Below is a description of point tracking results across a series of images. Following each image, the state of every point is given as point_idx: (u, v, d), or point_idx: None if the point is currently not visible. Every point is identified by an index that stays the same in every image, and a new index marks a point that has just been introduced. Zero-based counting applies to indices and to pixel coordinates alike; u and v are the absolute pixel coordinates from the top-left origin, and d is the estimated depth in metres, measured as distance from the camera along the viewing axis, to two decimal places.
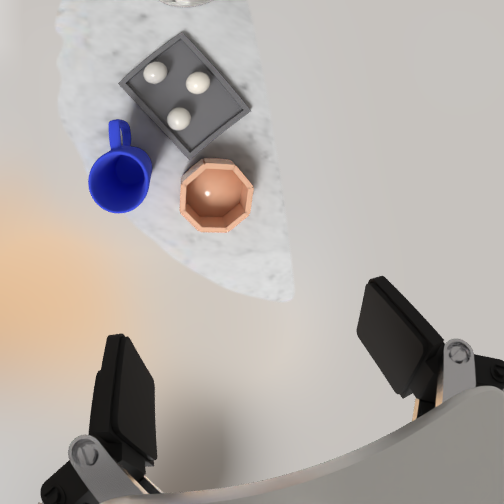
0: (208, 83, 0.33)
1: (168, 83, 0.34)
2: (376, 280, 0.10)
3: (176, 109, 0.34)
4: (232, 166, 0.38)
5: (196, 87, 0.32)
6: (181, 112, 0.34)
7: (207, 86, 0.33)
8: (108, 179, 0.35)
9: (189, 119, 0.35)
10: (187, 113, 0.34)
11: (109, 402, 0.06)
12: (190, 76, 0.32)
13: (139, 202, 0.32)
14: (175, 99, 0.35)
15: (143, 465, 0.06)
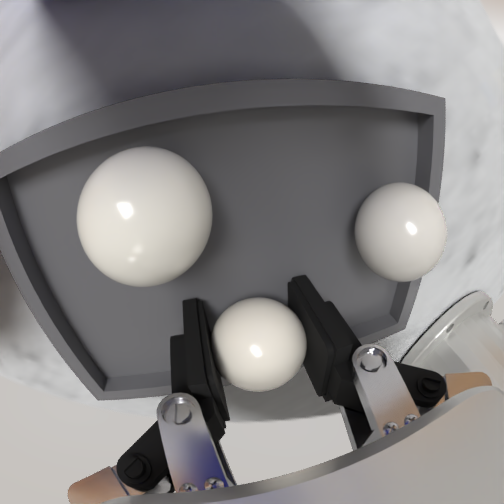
0: None
1: (319, 231, 0.10)
2: (296, 279, 0.10)
3: (201, 245, 0.06)
4: None
5: (250, 368, 0.08)
6: (166, 275, 0.06)
7: (227, 380, 0.09)
8: None
9: None
10: (147, 285, 0.06)
11: (200, 356, 0.07)
12: (304, 349, 0.09)
13: None
14: (243, 221, 0.09)
15: (222, 424, 0.08)
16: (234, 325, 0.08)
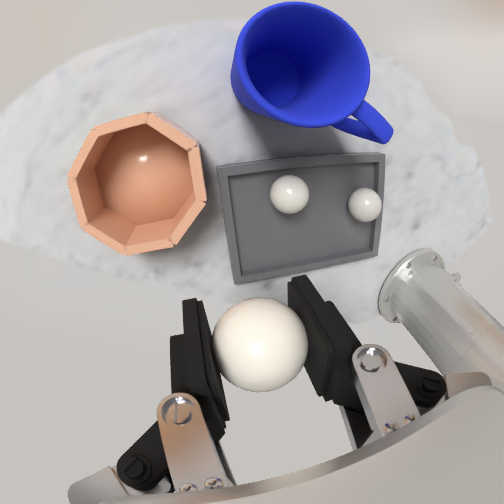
0: None
1: (336, 205, 0.27)
2: (296, 279, 0.10)
3: (307, 202, 0.24)
4: (175, 241, 0.21)
5: (252, 369, 0.08)
6: (299, 208, 0.23)
7: (229, 380, 0.09)
8: (295, 43, 0.16)
9: (280, 210, 0.24)
10: (291, 213, 0.24)
11: (200, 357, 0.07)
12: (306, 349, 0.09)
13: (240, 64, 0.12)
14: (311, 200, 0.27)
15: (222, 424, 0.08)
16: (235, 325, 0.08)
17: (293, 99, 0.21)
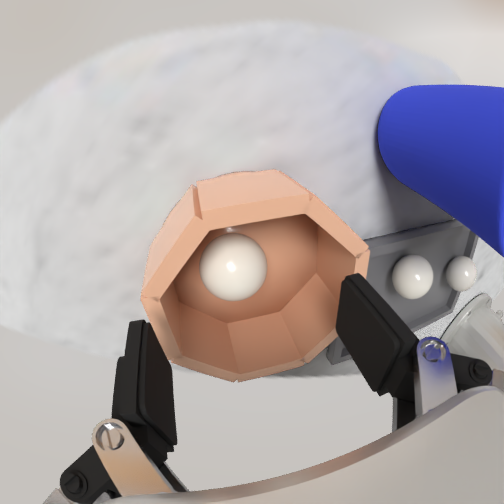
0: (217, 296, 0.14)
1: (435, 273, 0.22)
2: (351, 277, 0.10)
3: None
4: (308, 359, 0.15)
5: (224, 273, 0.12)
6: None
7: (210, 291, 0.14)
8: None
9: (404, 297, 0.19)
10: None
11: (135, 384, 0.07)
12: (264, 266, 0.13)
13: None
14: None
15: (165, 449, 0.07)
16: (215, 246, 0.13)
17: None
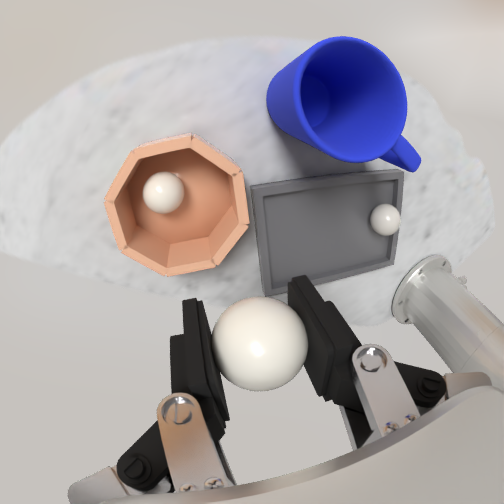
0: None
1: (358, 219, 0.29)
2: (296, 279, 0.10)
3: None
4: (217, 261, 0.22)
5: (152, 191, 0.20)
6: (282, 384, 0.09)
7: (147, 206, 0.21)
8: (332, 69, 0.17)
9: None
10: None
11: (200, 356, 0.07)
12: (178, 189, 0.21)
13: (298, 101, 0.13)
14: (337, 216, 0.28)
15: (222, 424, 0.08)
16: (150, 177, 0.20)
17: (324, 121, 0.22)
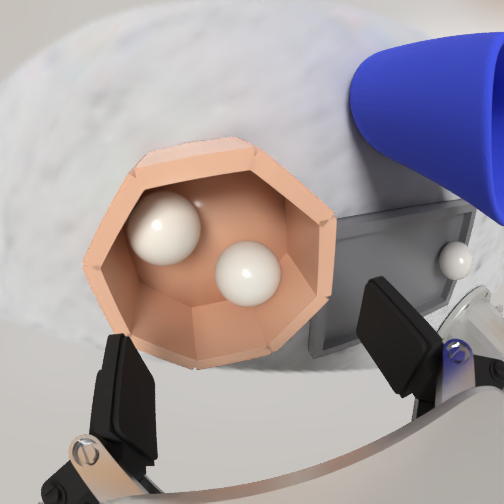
0: None
1: (426, 260, 0.21)
2: (375, 280, 0.10)
3: None
4: (274, 347, 0.14)
5: (132, 213, 0.11)
6: None
7: None
8: None
9: None
10: None
11: (110, 401, 0.06)
12: (174, 218, 0.11)
13: (490, 125, 0.05)
14: (407, 258, 0.20)
15: (144, 464, 0.06)
16: None
17: None
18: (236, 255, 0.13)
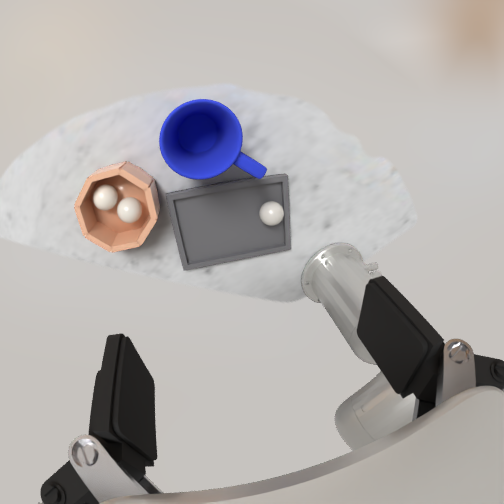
0: (96, 206, 0.32)
1: (252, 214, 0.40)
2: (376, 280, 0.10)
3: None
4: (140, 242, 0.34)
5: (94, 193, 0.30)
6: None
7: None
8: (207, 112, 0.28)
9: None
10: None
11: (109, 402, 0.06)
12: (108, 193, 0.31)
13: (162, 149, 0.24)
14: (232, 211, 0.40)
15: (143, 465, 0.06)
16: None
17: (213, 146, 0.33)
18: None
